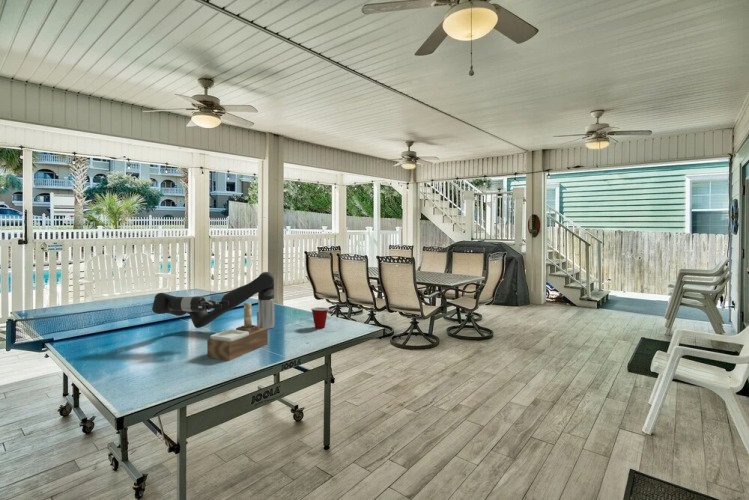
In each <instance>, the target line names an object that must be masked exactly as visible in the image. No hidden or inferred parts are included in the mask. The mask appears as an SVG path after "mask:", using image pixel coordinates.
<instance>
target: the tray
mask: <svg viewBox="0 0 749 500" xmlns="http://www.w3.org/2000/svg"><path fill="white" fill-rule="evenodd" d="M246 336H249V332H247V331H240V330H236V329H230V328H228V329H226V330H223V331H220V332H216V333H214V334H211V335H210V339H213V340H220V341H227V342H232V341H235V340H238V339H240V338H243V337H246Z"/></svg>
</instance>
